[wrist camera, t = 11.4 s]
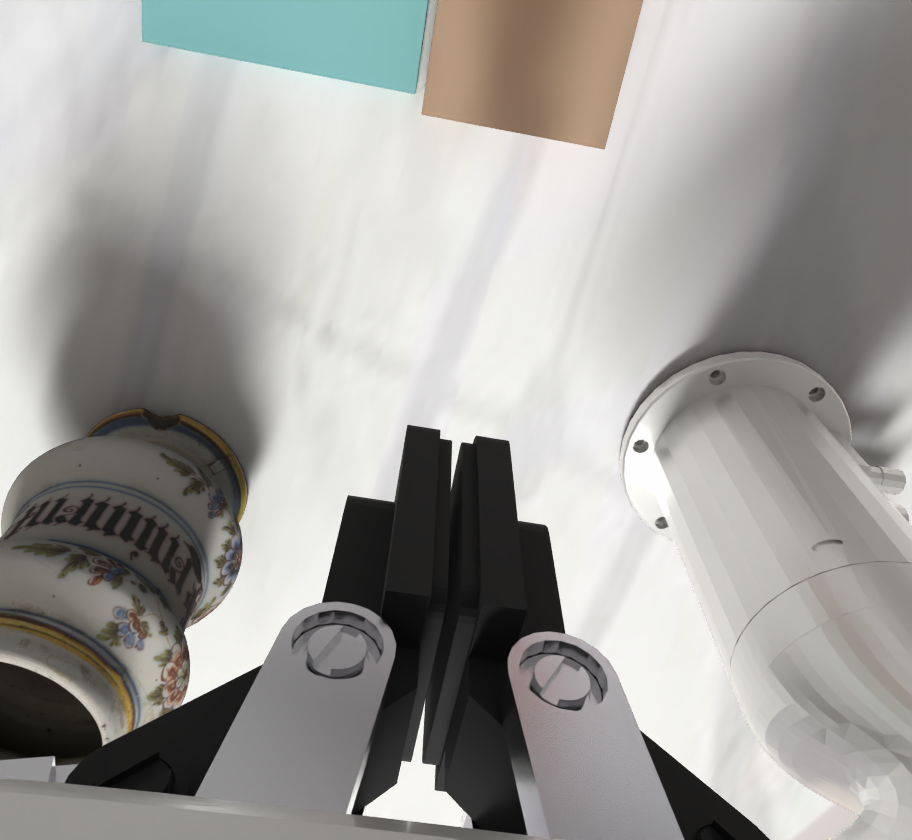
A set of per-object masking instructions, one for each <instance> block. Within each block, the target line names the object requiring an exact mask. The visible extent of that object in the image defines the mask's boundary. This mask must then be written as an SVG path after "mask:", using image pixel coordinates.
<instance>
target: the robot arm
mask: <svg viewBox="0 0 912 840" xmlns="http://www.w3.org/2000/svg"><path fill="white" fill-rule="evenodd" d="M716 370H717V371H716ZM714 371H716V373H714V374H711V373H712V372H714ZM638 440H640V441H638ZM636 441H637V442H636ZM851 443H852V432H851V424H850V418H849V416H848V413H847V410H846V408H845V405H844V403H843V401H842V400H841V398H840V397H839V396H838V394H837V393H836V391H835V390H834V389H833V387H832V386H831V385H830V384H829V383H828V382H827V381H826V380H825V379H824V378H823V377H822V376H821V375H820V374H819V373H817V372H816V371H814V370H812V369H811V368H809V367H808V366H806V365H805V364H803V363H802V362H799V361H796V360H794V359H791V358H789V357H786V356H783V355H778V354H772V353H767V352H735V353H729V354H724V355H718V356H714V357H711V358H708V359H706V360H703V361H700V362H697V363H694V364H692V365H690V366H688V367H687V368H685V369H683V370H681V371H679V372H677V373H676V374H674V375H672V376H671V377H670V378H668V379H667V380H666V381H665V382H663V383H662V384H661V385H659V386H658V387H657V388H656V389H655V390H654V391H653V392H652V393H651V394H650V395H649V396H648V397H647V398H646V399H645V401H644V402H643V403H642V404H641V405H640V406H639V408H638V410H637V411H636V413H635V414H634V416H633V418H632V419H631V421H630V422H629V425H628V427H627V430H626V433H625V435H624V438H623V440H622V446H621V453H620V474H621V479H622V482H623V486H624V490H625V493H626V495H627V497H628V500H629V502H630V504H631V506H632V508H633V510H634V511H635V512H636V514H637V515H638V516H639V518H640V519H641V520H642V522H644V523H645V524H646V525H647V526H648V527H649V528H650V529H651V530H652V531H654V532H655V533H657V534H659V535H661V536H662V537H664V538H666V539H668V540H670V541H671V542H674V543H675V545H676V547H677V550H678V552H679V555H680V557H681V560H682V562H683V565H684V567H685V570H686V572H687V575H688V577H689V580H690V582H691V585H692V588H693V590H694V593H695V595H696V598H697V600H698V603H699V605H700V608H701V610H702V613H703V615H704V618H705V620H706V623H707V625H708V628H709V631H710V633H711V636H712V638H713V641H714V643H715V646H716V648H717V651H718V653H719V656H720V658H721V661H722V663H723V666H724V668H725V671H726V674H727V676H728V679H729V681H730V684H731V686H732V689H733V691H734V694H735V696H736V699H737V701H738V704H739V706H740V709H741V711H742V714H743V716H744V718H745V720H746V722H747V724H748V726H749V728H750V730H751V732H752V733H753V735H754V736H755V738H756V739H757V741H758V742H759V744H760V745H761V747H762V748H763V749H764V751H765V752H766V753H767V754H768V755H769V756H770V757H771V758H772V759H773V760H774V761H775V762H776V763H777V765H778V766H779V767H781V768H782V769H783V770H784V771H785V772H786V773H787V774H789V775H790V776H792V777H793V778H794V779H796V780H797V781H798V782H800V783H801V784H803V785H804V786H805V787H807V788H808V789H810V790H812V791H813V792H815V793H817V794H819V795H820V796H822V797H824V798H826V799H827V800H829V801H831V802H833V803H835V804H837V805H838V806H841V807H843V808H845V809H847V810H849V811H851V812H853V813H855V814H857V815H859V818H858V819H857V820H856V821H855V822H854V823H852V824H851V825H850V826H849V827H847V828H846V829H844V830H843V831H841V832H839V833H837V834H836V835H834V836H832V837H831V838H829V839H827V840H912V526H911V525H910V524H909V518H908V513H907V511H906V509H905V508H903V507H902V506H900V505H894V504H892V503H891V502H890V501H889V500H888V498H887V497H886V496H885V495H884V494H883V493H889V494H899V493H901V491H902V490H903V489H904V486H905V483H906V478H905V474H904V472H903V471H901V470H899V469H894V468H888V467H882V466H875V467H874V466H869V465H868V464H867V463H866V462H865V461H864V460H863V459H862V457H861V456H860V455H859V454H858V453H857V452H856V451H855V449H854V448H853V447H852V446H851ZM451 459H452V441H451V440H444V439H440V430H437V429H431V428H424V427H418V426H412V425H407V431H406V436H405V442H404V448H403V454H402V460H401V466H400V472H399V478H398V484H397V490H396V496H395V502H389V501H383V500H376V499H369V498H363V497H356V496H349V495H348V497H347V501H346V505H345V509H344V513H343V517H342V521H341V526H340V530H339V534H338V538H337V542H336V546H335V551H334V555H333V559H332V563H331V567H330V572H329V576H328V580H327V584H326V588H325V592H324V597H323V601H322V603H319V604H316V605H313V606H310V607H307V608H304V609H302V610H301V611H299V612H298V613H296V614H295V615H293V616H292V617H290V619H289V620H288V621H287V622H286V624H285V625H284V626H283V628H282V629H281V631H280V633H279V635H278V637H277V639H276V640H275V642H274V644H273V646H272V648H271V650H270V652H269V654H268V656H267V658H266V660H265V662H264V664H263V665H261V666H259V667H257V668H255V669H253V670H251V671H249V672H247V673H245V674H243V675H241V676H239V677H237V678H235V679H233V680H231V681H229V682H227V683H225V684H223V685H221V686H219V687H217V688H216V689H214V690H212V691H210V692H208V693H206V694H204V695H202V696H200V697H198V698H196V699H194V700H192V701H190V702H188V703H186V704H184V705H182V706H180V707H178V708H176V709H174V710H172V711H170V712H168V713H166V714H164V715H162V716H160V717H158V718H156V719H154V720H152V721H150V722H148V723H146V724H144V725H142V726H141V727H139V728H137V729H135V730H133V731H131V732H129V733H127V734H125V735H123V736H121V737H119V738H117V739H115V740H113V741H111V742H109V743H107V744H105V745H103V746H102V747H100V748H99V749H97V750H96V751H94V752H93V753H91V754H90V755H88V756H87V757H85V758H84V759H83V760H82V761H81V762H80V763H79V764H73V765H61V766H55V758H54V756H49V757H36V758H24V759H11V760H0V840H770V839H769V838H768V837H767V836H766V835H765V834H764V833H763V832H762V831H761V830H760V829H759V828H758V827H757V826H756V825H754V824H753V823H752V822H751V821H750V820H748V819H747V818H746V817H745V816H744V815H742V814H741V813H740V812H739V811H737V810H736V809H735V808H734V807H733V806H731V805H730V804H729V803H728V802H727V801H725V800H724V799H723V798H722V797H720V796H719V795H718V794H717V793H716V792H714V791H713V790H712V789H711V788H710V787H708V786H707V785H706V784H705V783H703V782H702V781H701V780H700V779H699V778H697V777H696V776H695V775H694V774H693V773H691V772H690V771H689V770H688V769H686V768H685V767H684V766H683V765H682V764H680V763H679V762H678V761H677V760H676V759H674V758H673V757H672V756H671V755H669V754H668V753H667V752H666V751H665V750H663V749H662V748H661V747H660V746H659V745H657V744H656V743H655V742H654V741H652V740H651V739H650V738H649V737H648V736H646V735H645V734H644V733H643V732H642V731H640V730H639V727H638V725H637V722H636V720H635V717H634V715H633V713H632V710H631V708H630V705H629V703H628V700H627V698H626V695H625V693H624V690H623V688H622V686H621V683H620V681H619V678H618V676H617V674H616V672H615V670H614V669H613V667H612V665H611V664H610V662H609V661H608V660H607V659H606V658H605V657H604V656H603V655H602V654H601V653H600V652H599V651H598V650H597V649H596V648H594V647H593V646H591V645H589V644H588V643H586V642H585V641H583V640H581V639H578V638H576V637H573V636H570V635H568V634H565V629H564V623H563V616H562V610H561V604H560V598H559V592H558V586H557V580H556V573H555V567H554V561H553V555H552V549H551V543H550V536H549V532H548V528H547V527H546V526H545V525H541V524H535V523H528V522H521V521H518V519H517V510H516V500H515V491H514V481H513V471H512V462H511V452H510V444H509V441H506V440H500V439H493V438H487V437H481V436H476V437H475V439H474V442H473V444H470V443H463V442H462V443H461V446H460V450H459V455H458V460H457V464H456V469H455V474H454V479H453V484H452V488H451ZM882 492H883V493H882ZM425 698H426V700H425ZM424 703H425V718H424V736H423V754H422V762H423V763H424V764H432V765H436V770H435V790H437V791H445V792H447V793H448V794H449V795H450V796H451V797H452V798H453V799H454V800H455V801H456V803H457V804H458V805H459V806H460V807H461V808H462V809H463V810H464V811H463V815H462V827H454V826H445V825H437V824H428V823H420V822H411V821H403V820H394V819H386V818H377V817H369V816H365V811H366V806H367V805H368V804H369V803H371V802H372V801H373V800H375V799H376V798H377V797H379V796H380V795H382V794H383V793H384V792H386V791H387V790H388V789H390V788H391V787H393V786H394V785H395V784H397V780H398V775H399V770H400V766H401V761H408V762H411V760H412V756H413V751H414V747H415V742H416V738H417V734H418V729H419V725H420V720H421V716H422V711H423V707H424Z"/></svg>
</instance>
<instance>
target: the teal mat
mask: <svg viewBox="0 0 912 840" xmlns="http://www.w3.org/2000/svg"><path fill="white" fill-rule="evenodd" d="M427 8H428V0H142V37H143V42H148V43H153V44H158V45H163V46H168V47H174V48H179V49H184V50H189V51H194V52H199V53H205V54H210V55H215V56H220V57H225V58H231V59H236V60H241V61H246V62H251V63H257V64H262V65H267V66H272V67H277V68H282V69H288V70H293V71H298V72H303V73H308V74H314V75H319V76H324V77H329V78H334V79H340V80H345V81H350V82H355V83H360V84H365V85H371V86H376V87H381V88H386V89H391V90H397V91H402V92H407V93H412V94H415V93H416V86H417V79H418V72H419V65H420V57H421V50H422V43H423V36H424V29H425V22H426V15H427Z"/></svg>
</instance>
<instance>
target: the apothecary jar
mask: <svg viewBox="0 0 912 840" xmlns="http://www.w3.org/2000/svg"><path fill="white" fill-rule="evenodd" d="M246 502H247V485H246V480H245V476H244V473H243V470H242V468H241V465H240V463H239V461H238V459H237V457H236V456H235V454H234V453H233V452H232V450H231V449H230V448H229V447H228V446H227V444H226V443H225V442H224V441H223V440H222V439H221V438H220V437H219V436H218V435H217V434H215V433H214V432H213V431H211V430H210V429H208V428H207V427H206V426H204V425H203V424H201V423H199V422H197V421H195V420H193V419H191V418H188V417H186V416H184V415H180V414H179V415H174V416H163V417H159V416H155V415H153V414H152V413H150V412H149V411H147V410H146V409H134V410H127V411H123V412H120V413H117V414H114V415H111V416H109V417H107V418H105V419H104V420H103V421H101V422H100V423H99V424H97V425H96V426H95V427H94V428H93V429H92V430H91V431H90V433H89V434H88V435H87V437H86V438H83V439H78V440H74V441H71V442H68V443H65V444H62V445H60V446H57V447H55V448H53V449H51V450H49V451H47V452H46V453H44V454H42V455H41V456H39V457H38V458H36V459H35V460H34V461H32V462H31V463H30V464H29V465H28V466H27V467H26V468H25V469H24V470H23V471H22V472H21V473H20V474H19V476H18V477H17V478H16V480H15V481H14V483H13V485H12V486H11V488H10V490H9V492H8V495H7V497H6V500H5V503H4V507H3V512H2V520H1V531H2V537H1V538H0V760H11V759H24V758H36V757H49V756H54V758H55V766H61V765H73V764H79V763H80V762H81V761H82V760H83V759H84V758H85V757H87V756H88V755H90V754H91V753H93V752H94V751H96V750H97V749H99V748H100V747H102V746H103V745H105V744H107V743H109V742H111V741H113V740H115V739H117V738H119V737H121V736H123V735H125V734H127V733H129V732H131V731H133V730H135V729H137V728H139V727H141V726H142V725H144V724H146V723H148V722H150V721H152V720H154V719H156V718H158V717H160V716H162V715H164V714H166V713H168V712H170V711H172V710H174V709H176V708H178V707H180V706H181V704H182V702H183V700H184V697H185V695H186V691H187V687H188V682H189V675H190V659H189V651H188V646H187V642H186V638H185V635H184V631H185V629H186V628H187V627H189V626H191V625H193V624H195V623H197V622H199V621H200V620H201V619H203V618H204V617H206V616H207V615H208V614H209V613H211V612H212V611H213V610H214V609H215V608H216V607H217V606H218V605H219V604H220V603H221V602H222V601H223V600H224V598H225V597H226V596H227V594H228V593H229V591H230V590H231V588H232V586H233V584H234V582H235V580H236V578H237V575H238V572H239V569H240V565H241V559H242V536H241V530H240V526H239V522H240V520H241V518H242V516H243V514H244V511H245V507H246Z"/></svg>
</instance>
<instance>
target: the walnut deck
mask: <svg viewBox="0 0 912 840" xmlns="http://www.w3.org/2000/svg"><path fill="white" fill-rule="evenodd" d="M642 3H643V0H438V4H437V11H436V18H435V25H434V32H433V39H432V46H431V53H430V59H429V66H428V73H427V80H426V87H425V94H424V101H423V108H422V115H427V116H432V117H438V118H443V119H448V120H453V121H458V122H464V123H469V124H474V125H479V126H485V127H490V128H495V129H500V130H506V131H511V132H516V133H521V134H527V135H532V136H537V137H542V138H548V139H553V140H558V141H563V142H569V143H574V144H579V145H584V146H589V147H595V148H600V149H605V146H606V142H607V138H608V135H609V131H610V127H611V123H612V119H613V115H614V111H615V107H616V104H617V100H618V96H619V92H620V88H621V84H622V80H623V77H624V73H625V69H626V65H627V61H628V57H629V53H630V50H631V46H632V42H633V38H634V34H635V30H636V26H637V23H638V19H639V15H640V11H641V7H642Z"/></svg>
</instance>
